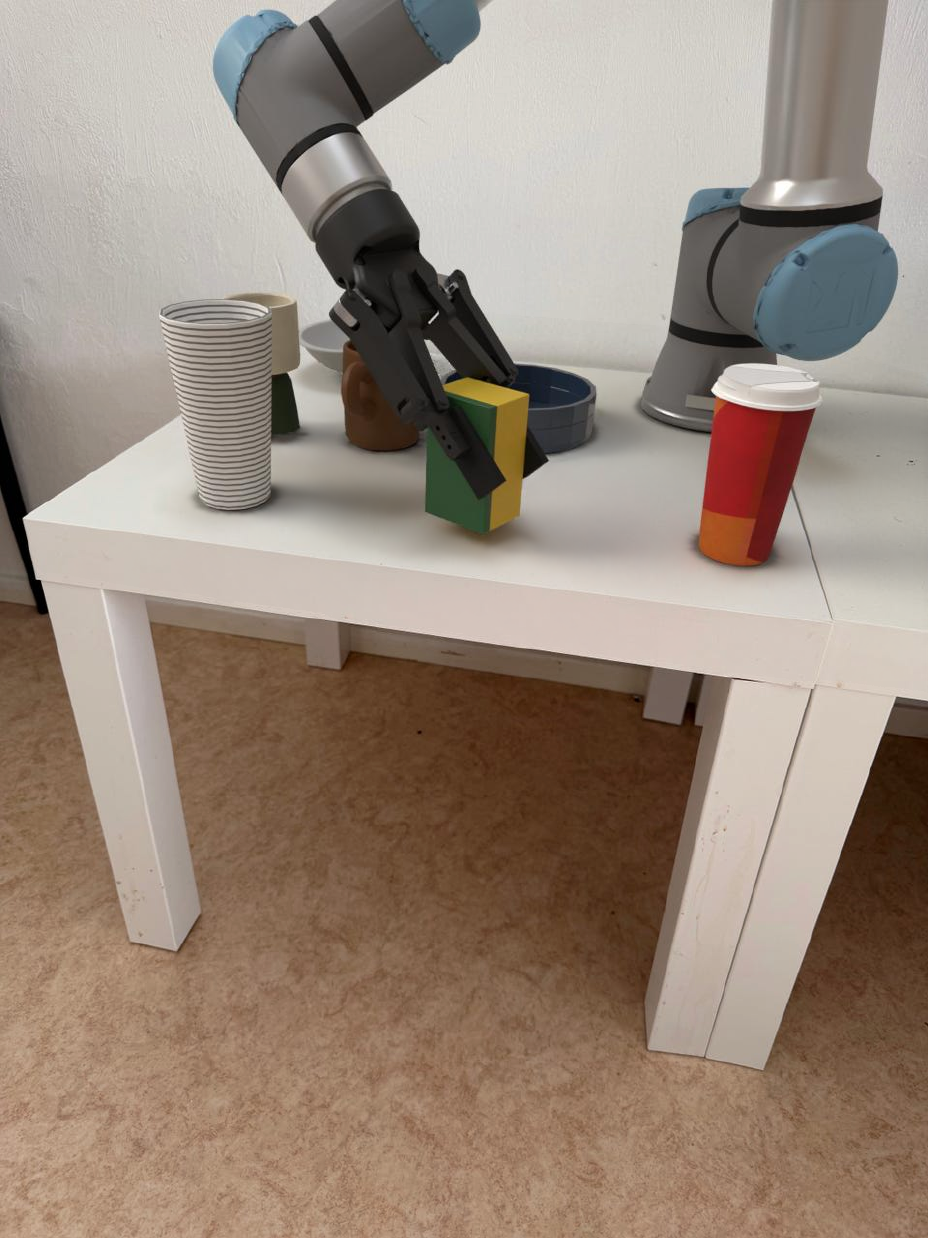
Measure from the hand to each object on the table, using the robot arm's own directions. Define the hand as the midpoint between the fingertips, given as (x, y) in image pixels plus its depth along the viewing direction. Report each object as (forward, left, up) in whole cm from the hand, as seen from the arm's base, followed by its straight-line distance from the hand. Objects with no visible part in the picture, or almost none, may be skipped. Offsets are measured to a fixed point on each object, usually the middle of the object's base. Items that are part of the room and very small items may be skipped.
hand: (514, 479), depth 67 cm
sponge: (+1, -4, -4) cm, 6 cm away
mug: (0, -24, -6) cm, 25 cm away
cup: (+16, -18, -6) cm, 25 cm away
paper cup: (-16, +9, -6) cm, 19 cm away
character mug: (+8, -32, -6) cm, 34 cm away
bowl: (-16, -23, -6) cm, 29 cm away
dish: (-9, -47, -6) cm, 49 cm away
